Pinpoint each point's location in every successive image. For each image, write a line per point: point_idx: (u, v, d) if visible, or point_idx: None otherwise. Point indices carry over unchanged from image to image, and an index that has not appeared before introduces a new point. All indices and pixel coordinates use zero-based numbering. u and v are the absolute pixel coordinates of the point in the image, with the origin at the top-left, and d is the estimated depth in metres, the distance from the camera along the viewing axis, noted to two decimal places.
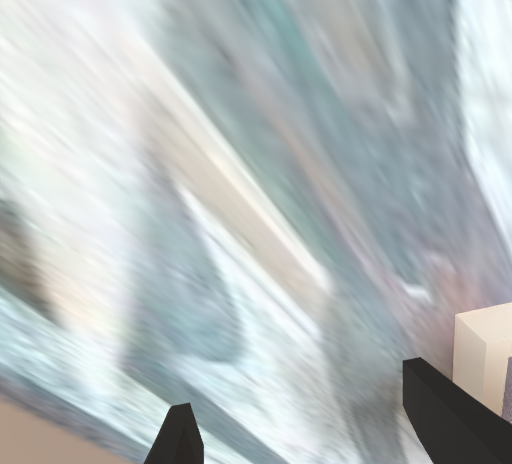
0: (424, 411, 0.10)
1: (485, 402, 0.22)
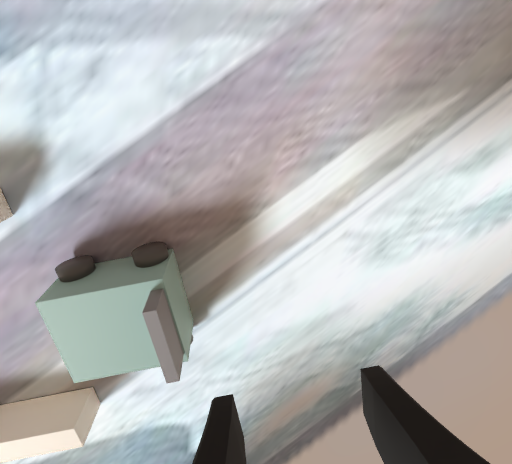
0: (378, 420, 0.10)
1: None
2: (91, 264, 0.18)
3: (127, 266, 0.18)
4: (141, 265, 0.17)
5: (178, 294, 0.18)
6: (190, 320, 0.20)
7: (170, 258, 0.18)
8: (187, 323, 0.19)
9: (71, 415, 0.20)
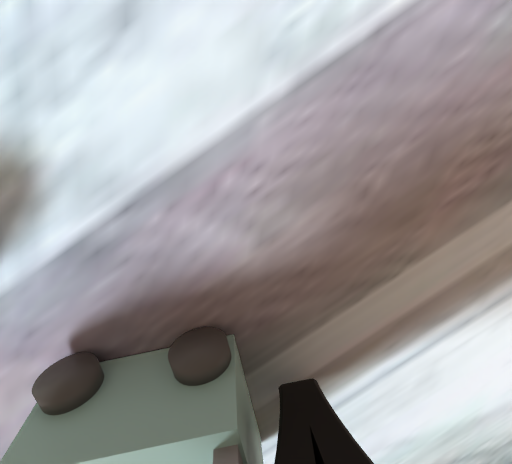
0: None
1: None
2: (96, 375, 0.10)
3: (160, 378, 0.10)
4: (187, 382, 0.09)
5: (248, 420, 0.10)
6: (259, 444, 0.12)
7: (235, 360, 0.10)
8: (260, 460, 0.11)
9: None
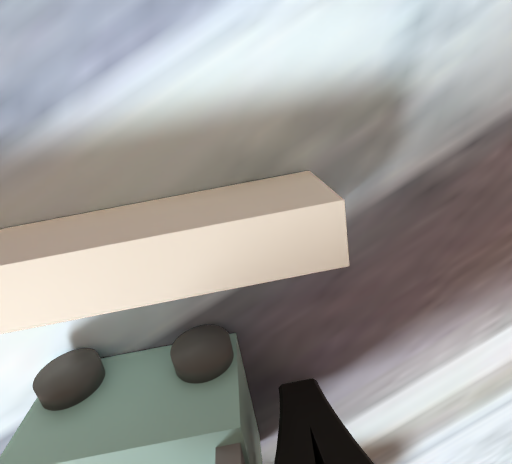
0: None
1: None
2: (98, 371, 0.10)
3: (162, 375, 0.10)
4: (190, 380, 0.09)
5: (249, 419, 0.10)
6: (258, 443, 0.12)
7: (237, 358, 0.10)
8: (259, 459, 0.11)
9: None
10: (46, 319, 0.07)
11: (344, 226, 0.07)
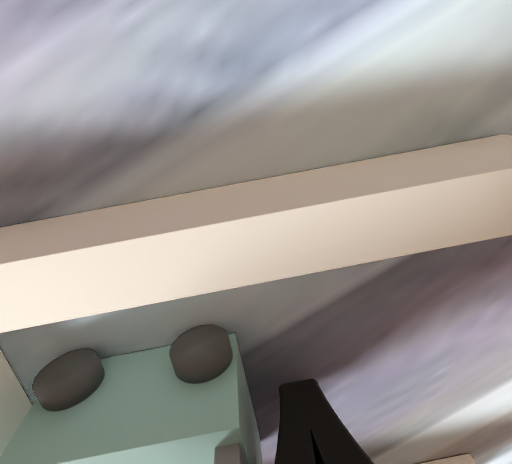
0: None
1: None
2: (97, 372, 0.10)
3: (161, 376, 0.10)
4: (189, 380, 0.09)
5: (249, 419, 0.10)
6: (258, 443, 0.12)
7: (236, 358, 0.10)
8: (259, 459, 0.11)
9: None
10: (307, 268, 0.07)
11: None
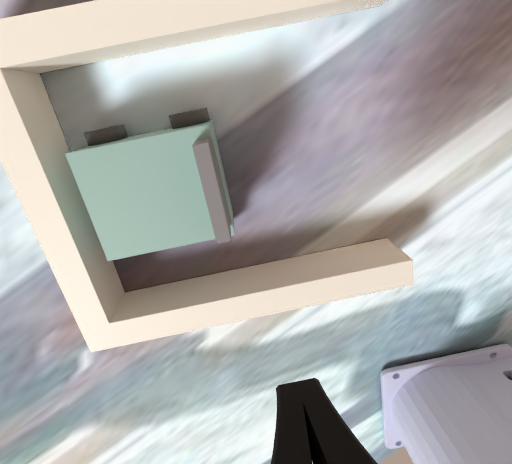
0: (309, 434, 0.10)
1: (183, 328, 0.18)
2: (123, 129, 0.16)
3: (164, 130, 0.16)
4: (181, 124, 0.15)
5: (221, 165, 0.16)
6: (231, 206, 0.18)
7: (211, 123, 0.16)
8: (229, 203, 0.17)
9: (393, 253, 0.18)
10: (244, 15, 0.13)
11: None
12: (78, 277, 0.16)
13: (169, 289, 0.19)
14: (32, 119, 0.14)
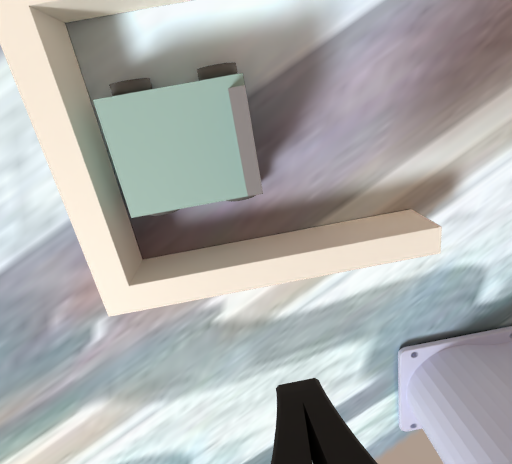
0: (309, 434, 0.10)
1: (204, 293, 0.17)
2: (150, 83, 0.15)
3: None
4: (210, 77, 0.15)
5: None
6: None
7: None
8: None
9: (420, 222, 0.18)
10: None
11: None
12: (99, 235, 0.16)
13: (188, 256, 0.19)
14: (58, 65, 0.14)
